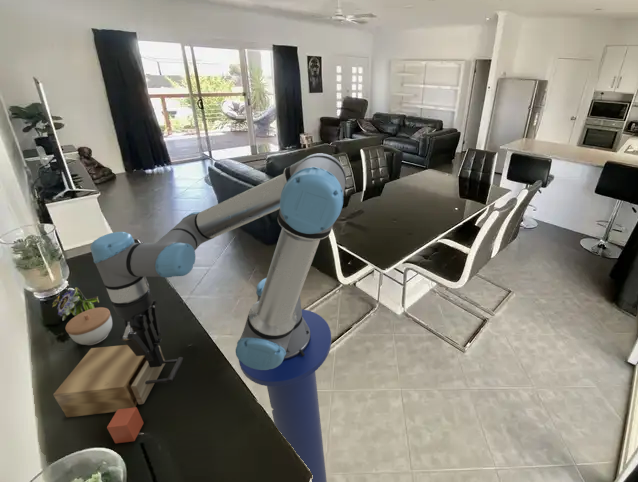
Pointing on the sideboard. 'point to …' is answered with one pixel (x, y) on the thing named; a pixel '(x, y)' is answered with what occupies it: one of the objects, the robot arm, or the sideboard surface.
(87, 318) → the trinket box
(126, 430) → the block
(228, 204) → the robot arm
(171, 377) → the drawer
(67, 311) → the passion flower
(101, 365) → the cabinet
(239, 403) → the sideboard surface
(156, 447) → the sideboard surface
